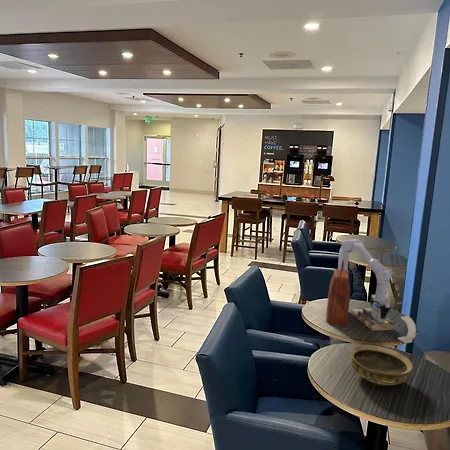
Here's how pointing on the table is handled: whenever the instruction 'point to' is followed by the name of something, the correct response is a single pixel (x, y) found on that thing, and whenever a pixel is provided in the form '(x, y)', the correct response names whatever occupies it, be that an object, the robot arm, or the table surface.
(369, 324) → the sweep station
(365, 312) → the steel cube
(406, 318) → the headphone stand
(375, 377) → the ceramic bowl
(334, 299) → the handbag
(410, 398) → the table surface
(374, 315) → the medicine box
